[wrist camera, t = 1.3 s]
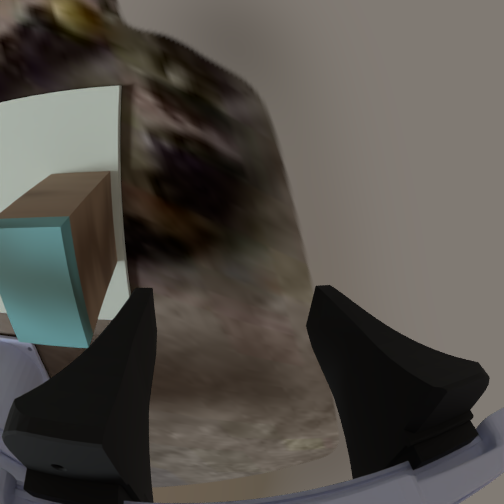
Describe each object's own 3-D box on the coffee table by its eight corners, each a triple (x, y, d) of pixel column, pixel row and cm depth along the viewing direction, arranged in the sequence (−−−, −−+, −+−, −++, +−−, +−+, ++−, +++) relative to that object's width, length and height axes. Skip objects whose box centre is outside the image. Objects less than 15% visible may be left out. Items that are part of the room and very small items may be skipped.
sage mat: (133, 315, 23) (132, 320, 22) (-12, 306, 20) (-15, 310, 19) (121, 85, 15) (119, 85, 15) (-51, 116, 13) (-56, 118, 12)
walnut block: (117, 261, 20) (88, 348, 13) (63, 260, 19) (18, 341, 12) (110, 170, 17) (60, 226, 10) (51, 174, 16) (-19, 229, 9)
